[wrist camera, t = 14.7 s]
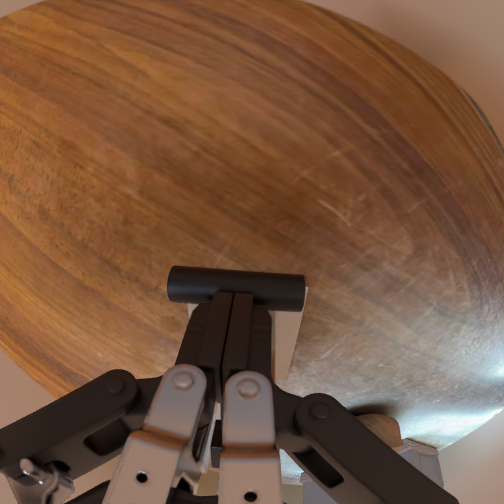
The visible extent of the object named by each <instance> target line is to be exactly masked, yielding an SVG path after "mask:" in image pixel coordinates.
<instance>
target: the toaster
mask: <svg viewBox="0 0 504 504" xmlns="http://www.w3.org/2000/svg"><path fill="white" fill-rule="evenodd" d="M402 442H403V444H404V448H403V449H402V450H400V451H399V452H397V453H398V454H399V455H400V456H402V457H403V458H404V459H405V460H407V461H408V462H409V463H410V464H412V465H413V466H414V467H415V468H417V469H418V470H419V471H420V472H422V473H423V474H424V475H426V476H427V477H428V478H429V479H431V480H432V481H433V482H435V483H436V484H437V485H439V486H440V487H441V488H443V486H444V484H443V479H442V474H441V469H440V464H439V460H438V455H439V453H438V450H437V449H435V448H432V447H429V446H426V445H423V444H420V443H417V442H415V441H412V440H409V439H403V440H402ZM300 483H303V504H338V503H337V502H335V501H334V500H333V499H332V498H331V497H330V496H329V495H328V494H327V493H326V492H325V491H324V490H322V489H321V488H320V487H319V486H318V485H317V484H316V483H315V482H314V481H313V480H312V479H311V478H310V477H309V476H308V475H307V474H306V473H305V472H304V473H302V474H301V476H300Z"/></svg>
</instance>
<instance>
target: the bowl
mask: <svg viewBox="0 0 504 504" xmlns="http://www.w3.org/2000/svg"><path fill="white" fill-rule="evenodd" d="M355 417H356V418H357V419H358V420H359V421H360V422H362V423H363V424H364V425H365V426H366V427H367V428H368V429H370V430H371V431H372V432H373V433H374V434H375V435H377V436H378V437H379V438H380V439H381V440H382V441H384V442H385V443H386V444H387V445H388V446H390V447H391V448H392V449H393V450H394V451H396V452H399V451H400V450H402V449H403V448H404V444H403V442H402V439H401V434H400V428H399V424H398V422H397V421H396V420H395V419H394V418H392V417H388V416H385V415H380V414H366V415H359V416H355Z"/></svg>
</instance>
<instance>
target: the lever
mask: <svg viewBox="0 0 504 504" xmlns="http://www.w3.org/2000/svg"><path fill="white" fill-rule="evenodd" d="M215 291H222V292H234V295H235V293H248V294H254V298H253V307H258V308H267V310H268V311H284V312H302V310H303V307H304V302H305V291H306V284H305V278H304V276H303V275H294V274H279V273H264V272H250V271H237V270H224V269H211V268H199V267H187V266H173V267H172V268H171V270H170V273H169V276H168V282H167V292H168V297H169V300H170V301H172V302H179V303H188V304H197V305H199V304H200V303H210V304H211V303H212V299H213V296H214V292H215ZM223 414H224V396H223V402H222V403H221V420H218V419H217V420H216V421H215V426H214V431H213V435H212V440H211V445H210V449H211V461H212V467H213V468H220V453H221V448H222V434H223Z"/></svg>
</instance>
